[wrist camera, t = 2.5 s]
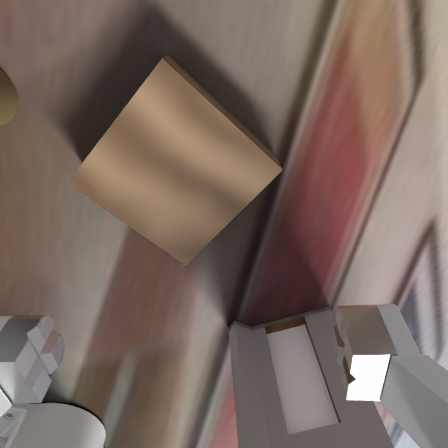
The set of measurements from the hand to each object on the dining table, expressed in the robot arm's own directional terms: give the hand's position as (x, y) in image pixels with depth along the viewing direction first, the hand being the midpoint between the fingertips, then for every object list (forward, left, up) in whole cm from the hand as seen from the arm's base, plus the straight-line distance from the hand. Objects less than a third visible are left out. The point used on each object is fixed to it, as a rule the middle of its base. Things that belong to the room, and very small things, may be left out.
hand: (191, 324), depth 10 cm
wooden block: (-5, -2, -29) cm, 29 cm away
